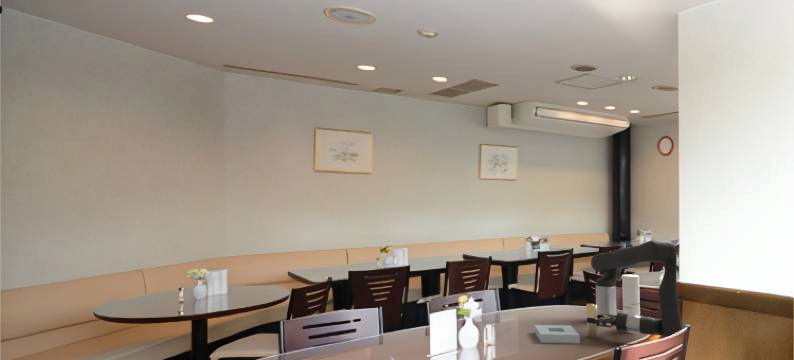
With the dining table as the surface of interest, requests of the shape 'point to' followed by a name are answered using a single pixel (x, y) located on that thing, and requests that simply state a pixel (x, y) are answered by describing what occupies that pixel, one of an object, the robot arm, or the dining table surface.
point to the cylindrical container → (631, 294)
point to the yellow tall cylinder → (591, 328)
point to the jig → (556, 334)
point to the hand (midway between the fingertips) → (589, 318)
